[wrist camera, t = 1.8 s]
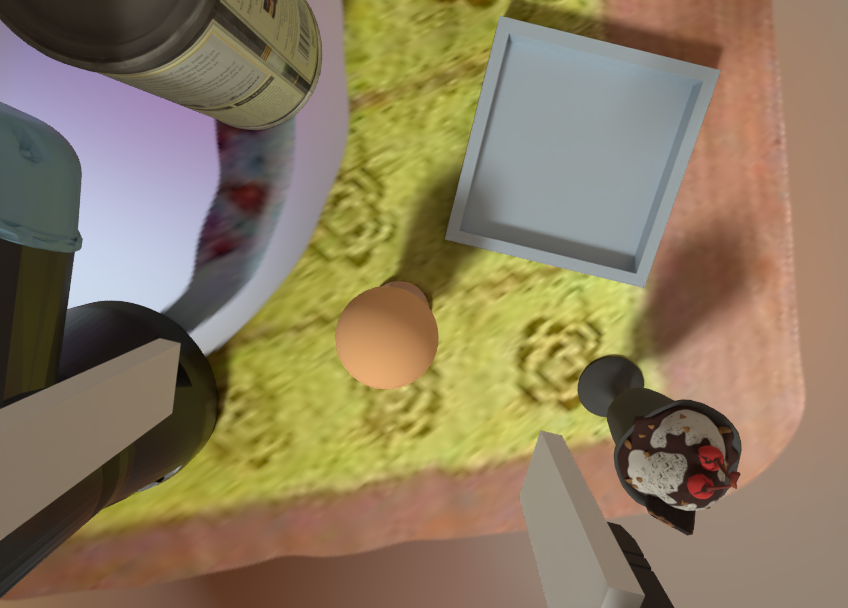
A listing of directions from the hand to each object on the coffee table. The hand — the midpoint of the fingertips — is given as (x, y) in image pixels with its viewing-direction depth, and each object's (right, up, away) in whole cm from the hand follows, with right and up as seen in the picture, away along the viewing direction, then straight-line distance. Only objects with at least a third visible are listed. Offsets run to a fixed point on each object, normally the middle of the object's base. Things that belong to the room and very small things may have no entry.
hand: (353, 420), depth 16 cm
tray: (+12, +14, +15) cm, 24 cm away
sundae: (+17, -2, +18) cm, 25 cm away
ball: (0, +2, +10) cm, 11 cm away
